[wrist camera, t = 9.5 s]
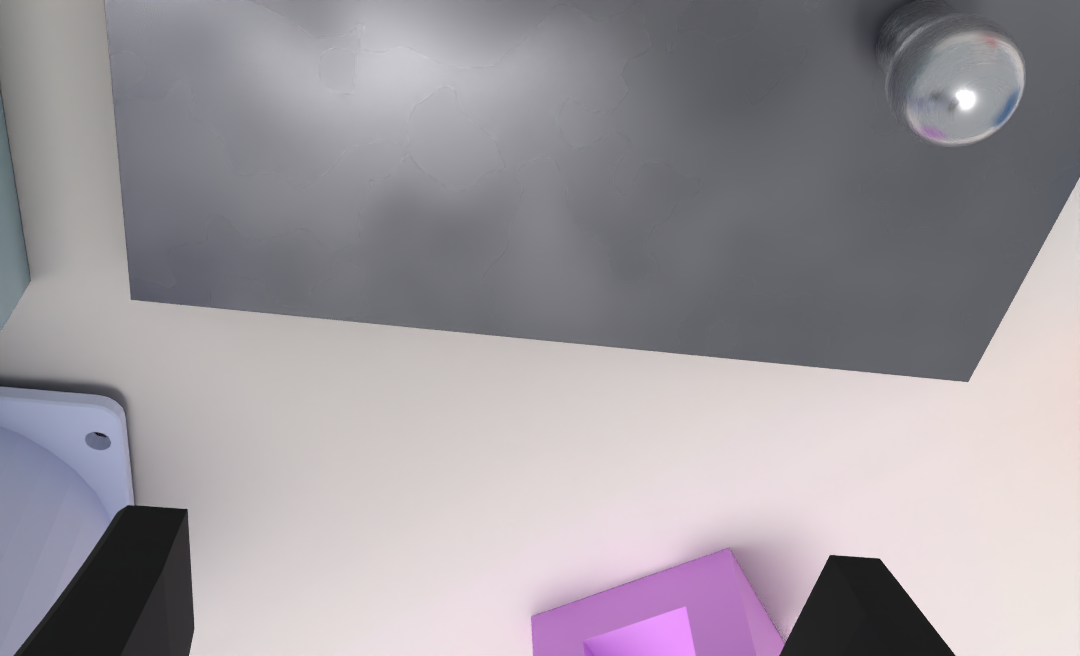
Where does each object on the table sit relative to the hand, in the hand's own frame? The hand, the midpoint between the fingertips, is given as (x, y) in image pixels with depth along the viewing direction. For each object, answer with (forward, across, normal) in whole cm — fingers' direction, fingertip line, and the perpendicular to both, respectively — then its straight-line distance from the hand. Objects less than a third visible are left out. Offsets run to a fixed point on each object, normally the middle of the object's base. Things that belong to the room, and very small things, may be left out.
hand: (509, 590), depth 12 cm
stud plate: (+9, -2, -4) cm, 10 cm away
